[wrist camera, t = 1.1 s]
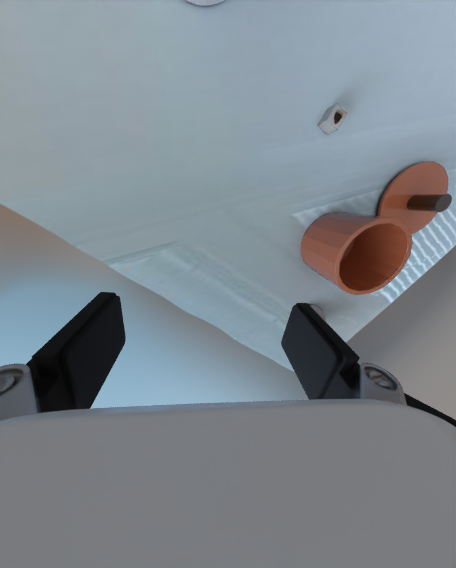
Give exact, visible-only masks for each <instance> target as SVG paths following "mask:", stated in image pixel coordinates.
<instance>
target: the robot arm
mask: <svg viewBox="0 0 456 568" xmlns="http://www.w3.org/2000/svg"><path fill="white" fill-rule="evenodd" d="M186 1H188V2H190V3H193V4H196V5H203V6H210V5H214V4H218V3H220V2H222V1H224V0H186ZM124 344H125V330H124V324H123V316H122V309H121V302H120V297H119V296H116V294H115V293H110V292H100V293H99V294H98V295H97V296H96V297H95V298H94V299H93V300H92V301H91V302H90V303H88V304H87V305H86V306H85V307H84V308H83V309H82V310H81V311H80V312H79V313H78V314H77V315H76V316H75V317H74V318H73V319H72V320H70V321H69V322H68V323H67V324H66V325H65V326H64V327H63V328H62V329H61V330H60V331H59V332H58V333H57V334H56V335H54V336H53V337H52V338H51V340H49V341H48V342H47V343H46V344H45V345H44V346H43V347H42V348H41V349H40V350H39V351H37V352H36V353H35V354H34V355H33V356H32V359H31V360H30V361H29V362H28V363H27V364H26V365H24V364H9V365H4V366H1V367H0V568H456V420H454V419H453V418H451V417H449V416H447V415H445V414H443V413H441V412H439V411H438V410H436V409H434V408H432V407H430V406H428V405H426V404H424V403H422V402H420V401H418V400H416V399H414V398H413V397H410V396H409V395H407V394H405V393H404V392H403V389H402V386H401V384H400V382H399V381H398V380H397V379H396V378H395V377H394V376H393V375H392V374H391V373H389V372H388V371H386V370H385V369H383V368H381V367H380V366H377V365H375V364H372V363H363V364H361V365H359V364H358V363H357V362H358V360H359V356H358V355H357V354H356V353H355V352H354V351H353V350H352V349H351V348H350V347H349V346H348V345H347V344H346V343H345V342H344V341H343V340H342V339H341V337H340V336H339V335H338V334H337V333H336V332H335V331H334V330H333V329H332V328H331V327H330V326H329V325H328V324H327V323H326V322H325V321H324V320H323V319H322V317H321V316H320V315H319V314H318V313H317V312H316V311H315V310H314V309H313V308H312V307H311V306H310V305H309V304H308V303H297V304H296V305H294V306H293V308H292V311H291V314H290V317H289V320H288V323H287V326H286V329H285V332H284V335H283V338H282V341H281V344H282V347H283V349H284V351H285V353H286V355H287V357H288V359H289V361H290V363H291V365H292V367H293V369H294V371H295V373H296V375H297V377H298V378H299V381H300V383H301V385H302V387H303V388H304V391H305V392H306V394H307V396H308V398H309V400H282V401H256V402H255V401H253V402H228V403H227V402H226V403H200V404H176V405H155V406H154V405H153V406H131V407H111V408H95V409H90V407H91V406H92V404H93V402H94V400H95V398H96V396H97V395H98V392H99V391H100V389H101V387H102V385H103V383H104V382H105V380H106V378H107V376H108V374H109V372H110V370H111V368H112V366H113V365H114V363H115V361H116V359H117V357H118V355H119V353H120V351H121V350H122V348H123V346H124Z"/></svg>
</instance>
